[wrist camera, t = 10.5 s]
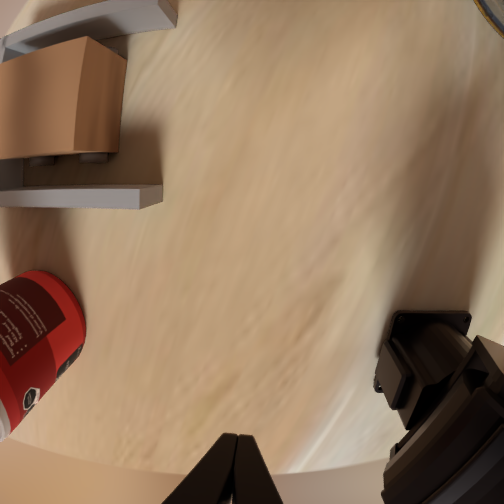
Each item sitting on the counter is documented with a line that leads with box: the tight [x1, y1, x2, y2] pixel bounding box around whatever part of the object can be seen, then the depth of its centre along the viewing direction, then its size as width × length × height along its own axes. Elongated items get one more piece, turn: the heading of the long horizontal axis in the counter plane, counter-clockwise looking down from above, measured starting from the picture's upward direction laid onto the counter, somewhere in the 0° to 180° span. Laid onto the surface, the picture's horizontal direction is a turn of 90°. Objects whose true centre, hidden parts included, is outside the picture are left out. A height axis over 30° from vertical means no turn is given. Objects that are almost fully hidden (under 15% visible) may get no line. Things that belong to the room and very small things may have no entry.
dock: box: [0, 0, 178, 209], centre depth 16 cm, size 12×12×4 cm
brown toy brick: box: [0, 36, 127, 166], centre depth 15 cm, size 7×7×5 cm
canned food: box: [0, 271, 86, 442], centre depth 16 cm, size 8×8×11 cm
